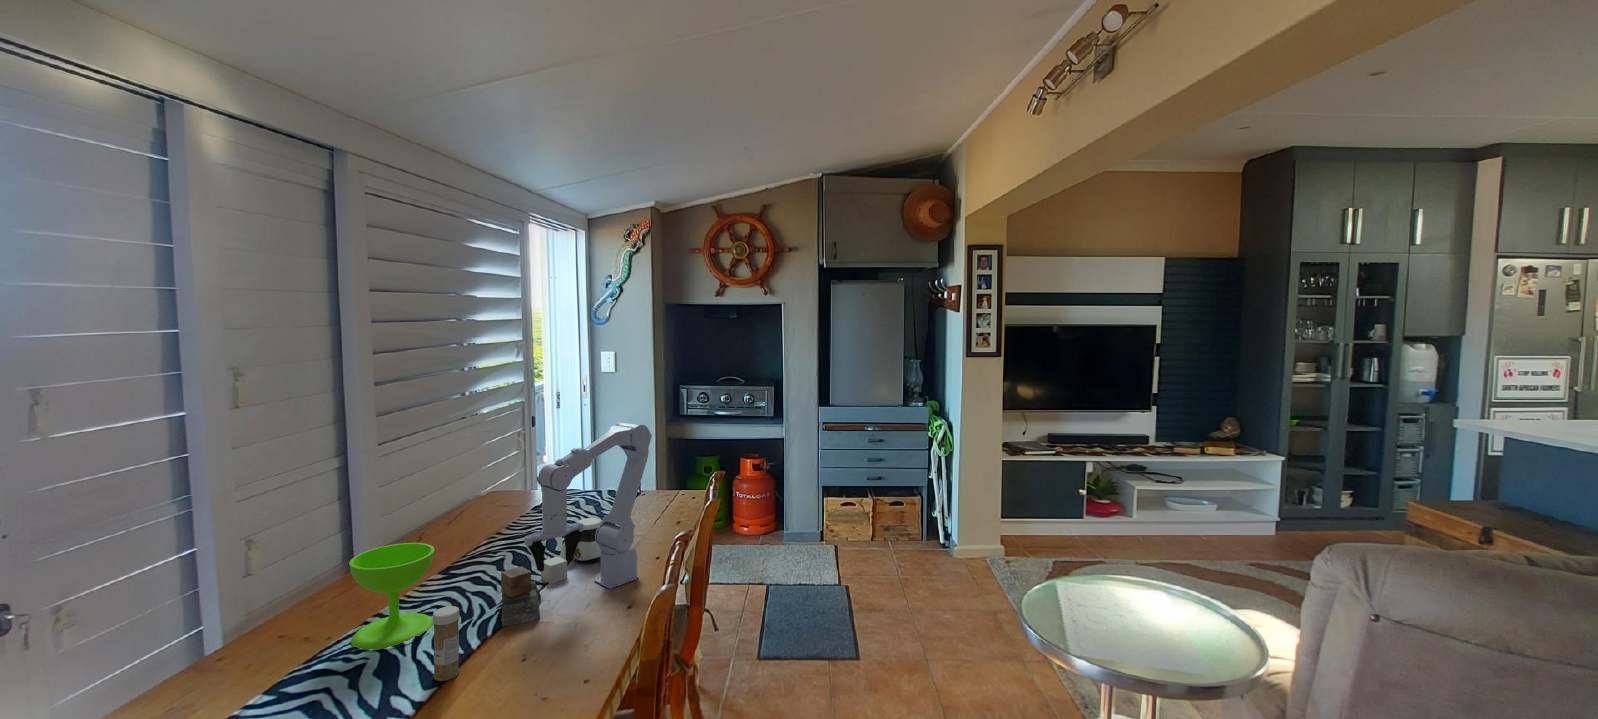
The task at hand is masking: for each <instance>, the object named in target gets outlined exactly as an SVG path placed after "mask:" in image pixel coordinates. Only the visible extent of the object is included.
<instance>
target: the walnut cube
mask: <svg viewBox="0 0 1598 719" xmlns="http://www.w3.org/2000/svg"><path fill="white" fill-rule="evenodd" d="M500 576H501V578H500V582H501V583H500V592H501V594H502V593H503V594H505V595H507V596H508V597H510V598H513V597H516V596H519V595H522V594H525V593H528V592H531V581H532V571H531V570H529V569H527V568H525V567H523V566H518V567H514V568H511V569H508V570H504V571H501V574H500Z"/></svg>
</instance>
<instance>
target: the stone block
mask: <svg viewBox="0 0 1598 719" xmlns="http://www.w3.org/2000/svg"><path fill="white" fill-rule="evenodd" d="M541 603H542V595H541V593H540V591H539V589H538V587H537V583H536V581H535V580H531V592H528V593H525V594H522V595H519V596H516V597H513V598H510V597H508V596H507V595H505V594H503V593H502V592H501V619H502V620H501V623H502V624H501V626H502V627H503V628H504V627H509V626H513V625H520V624H525V623H529V622H534V621H539V620H540V619H541V614H540V612H541V611H540V605H541Z"/></svg>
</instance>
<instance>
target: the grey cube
mask: <svg viewBox="0 0 1598 719" xmlns="http://www.w3.org/2000/svg"><path fill="white" fill-rule="evenodd" d="M567 578H568V562H567V561H566V560H564V559H562V558H560V556H554V557H552V558H551V557H550V558H547V559H544V571H542V572H540V579H541V580H543V581H544V582H547V583H548V584H554V583H557V582H559V581H562V580H566V579H567Z"/></svg>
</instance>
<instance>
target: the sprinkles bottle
mask: <svg viewBox="0 0 1598 719" xmlns="http://www.w3.org/2000/svg"><path fill="white" fill-rule="evenodd" d="M432 619H433V623H434V629H433V634H434V635H433V670H434V671H433V679H434V681H438V682H445V681H449V680H452V679H454V678H455V677H457V676H458V675H459V673H460V668H459V657H460V632H459V620H460V609H459V607H458V606H454V605H451V606H443V607H441V608H438V609H436V610H435V611H434V612H433V614H432Z"/></svg>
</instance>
